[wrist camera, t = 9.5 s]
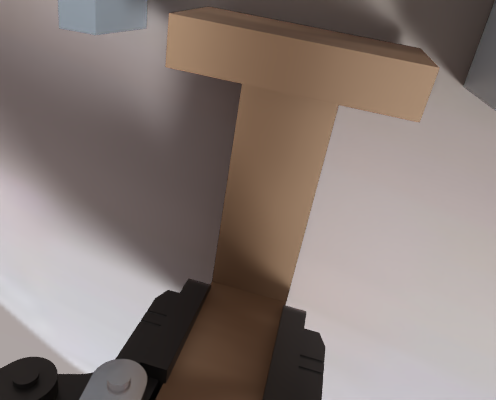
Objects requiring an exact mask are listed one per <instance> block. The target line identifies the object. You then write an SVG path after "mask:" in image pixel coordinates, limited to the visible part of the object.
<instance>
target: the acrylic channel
mask: <svg viewBox="0 0 496 400" xmlns="http://www.w3.org/2000/svg"><path fill="white" fill-rule="evenodd" d="M58 12H59V28H60V29H66V30H71V31H76V32H82V33H87V34H92V35H101V34H108V33H116V32H123V31H131V30H138V29H146V21H147V0H58ZM463 87H465V88H466V89H467V90H469V91H470V92H471V93H473V94H474V95H475V96H477V97H478V98H479V99H481V100H482V101H483V102H485V103H486V104H487V105H489V106H490V107H491V108H493V109H494V110H496V0H495V2H494V4H493V7H492V10H491V12H490V15H489V18H488V21H487V23H486V26H485V29H484V31H483V34H482V37H481V40H480V42H479V45H478V48H477V51H476V53H475V56H474V59H473V61H472V64H471V67H470V70H469V72H468V75H467V78H466V80H465V83H464V86H463Z"/></svg>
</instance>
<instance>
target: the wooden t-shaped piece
mask: <svg viewBox="0 0 496 400" xmlns="http://www.w3.org/2000/svg"><path fill="white" fill-rule="evenodd" d="M165 67H167V68H172V69H176V70H181V71H186V72H190V73H195V74H199V75H204V76H209V77H213V78H218V79H222V80H227V81H231V82H236V83H241V84H242V87H241V94H240V100H239V107H238V113H237V120H236V127H235V133H234V140H233V146H232V153H231V159H230V166H229V173H228V179H227V186H226V192H225V199H224V206H223V212H222V219H221V225H220V232H219V238H218V245H217V252H216V258H215V265H214V271H213V278H212V282H211V289H210V291H209V293H208V295H207V297H206V299H205V301H204V304H203V306H202V308H201V310H200V312H199V314H198V316H197V318H196V321H195V323H194V325H193V327H192V329H191V331H190V333H189V335H188V338H187V340H186V342H185V344H184V346H183V348H182V350H181V352H180V355H179V357H178V359H177V361H176V363H175V365H174V367H173V369H172V372H171V374H170V376H169V378H168V380H167V382H166V384H164V383H163V385H162V387H161V389H160V391H159V393H158V395H157V397H156V400H262V399H263V395H264V390H265V386H266V381H267V377H268V372H269V368H270V363H271V359H272V354H273V350H274V345H275V341H276V336H277V332H278V327H279V323H280V318H281V314H282V309H283V305H286V301H287V297H288V293H289V289H290V286H291V282H292V278H293V274H294V271H295V267H296V263H297V259H298V256H299V252H300V248H301V244H302V241H303V237H304V233H305V229H306V226H307V222H308V218H309V214H310V211H311V207H312V203H313V199H314V196H315V192H316V188H317V184H318V181H319V177H320V173H321V170H322V166H323V162H324V158H325V155H326V151H327V147H328V143H329V140H330V136H331V132H332V128H333V125H334V121H335V117H336V113H337V110H338V106H339V105H342V106H346V107H351V108H355V109H360V110H365V111H369V112H374V113H378V114H383V115H388V116H392V117H397V118H401V119H406V120H410V121H415V122H420V120H421V117H422V115H423V112H424V109H425V106H426V104H427V101H428V98H429V96H430V93H431V90H432V87H433V85H434V82H435V79H436V76H437V74H438V71H439V67H438V66H437V65H436V64H435V63H434V62H433V61H432V60H431V58H430V57H429V56H428V55H427V54H426V53H425V52H424V51H423V50H422V49H421V48H416V47H411V46H406V45H401V44H396V43H391V42H386V41H380V40H375V39H370V38H365V37H360V36H355V35H350V34H345V33H340V32H335V31H330V30H325V29H320V28H315V27H310V26H305V25H299V24H294V23H289V22H284V21H279V20H274V19H269V18H264V17H259V16H254V15H249V14H244V13H239V12H234V11H229V10H224V9H219V8H213V7H203V8H197V9H191V10H185V11H179V12H173V13H169V20H168V35H167V51H166V66H165Z"/></svg>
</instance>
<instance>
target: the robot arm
mask: <svg viewBox="0 0 496 400" xmlns="http://www.w3.org/2000/svg"><path fill="white" fill-rule="evenodd" d="M210 289H211V285H210V284H206V283H203V282H199V281H195V280H192V279H188V280H187V282H186V283H185V285H184V287H183V289H182V290H181V292H180V293H177V292H174V291H170V290H167V291H166V292H164V293H163V294H161V295H160V296H158V297H157V298H155V300H154V301H153V303H152V304H151V306H150V307H149V309H148V311H147V312H146V313H145V315H144V316H143V318H142V320H141V322H140V323H139V324H138V326H137V327H136V329H135V330H134V332H133V333H132V335H131V336H130V338H129V339H128V341H127V342H126V344H125V345H124V347H123V348H122V350H121V352H120V353H119V355H118V356H117V358H116V359H115V360H111V361H108V362H106V363H104V364H102V365H101V366H100V367H98V368H97V369H96V370H95V371H94V372H93V373H88V374H57V369H56V367H55V365H54V364H53V363H52V362H51V361H49V360H47V359H44V358H40V357H27V358H22V359H19V360H17V361H14V362H12V363H10V364H8V365H6V366H4V367H2V368H0V400H156V397H157V395H158V393H159V391H160V389H161V387H162V385H163V383H164V384H166V382H167V380H168V378H169V376H170V374H171V372H172V369H173V367H174V365H175V363H176V361H177V359H178V357H179V355H180V352H181V350H182V348H183V346H184V344H185V342H186V340H187V338H188V335H189V333H190V331H191V329H192V327H193V325H194V323H195V321H196V318H197V316H198V314H199V312H200V310H201V308H202V306H203V304H204V301H205V299H206V297H207V295H208V293H209V291H210ZM305 318H306V311H303V310H299V309H296V308H292V307H288V306H285V305H283V309H282V314H281V318H280V323H279V327H278V332H277V336H276V341H275V345H274V350H273V354H272V359H271V363H270V368H269V372H268V377H267V381H266V386H265V390H264V395H263V399H262V400H321V399H322V385H323V371H324V358H325V345H324V343H323V341H322V338H321V336H320V333H318V332H314V331H311V330H307V329H304V325H305Z"/></svg>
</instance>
